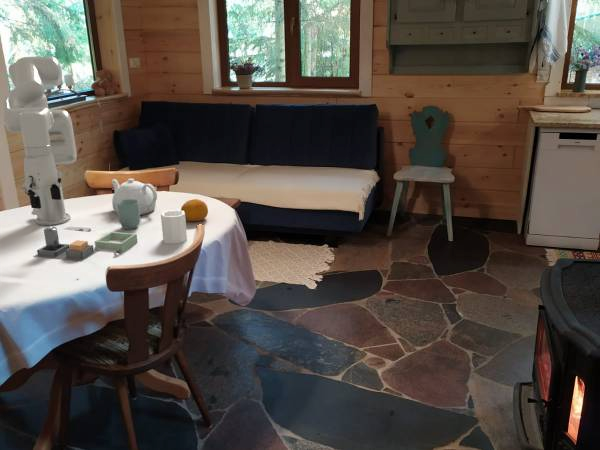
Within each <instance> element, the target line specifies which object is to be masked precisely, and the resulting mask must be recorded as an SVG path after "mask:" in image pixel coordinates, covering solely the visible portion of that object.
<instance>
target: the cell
mask: <svg viewBox="0 0 600 450" xmlns="http://www.w3.org/2000/svg"><path fill="white" fill-rule="evenodd" d="M43 234H44V240H45V246H46V247H47V250H49V251H56V250H58V249H60V245H59V244H60V240H59V234H58V228H57V227H55V226H48V227H45V228H44V229H43Z"/></svg>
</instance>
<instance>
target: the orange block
mask: <svg viewBox="0 0 600 450" xmlns="http://www.w3.org/2000/svg"><path fill="white" fill-rule="evenodd" d="M68 245H69V247H70V250H75V251H82V250H84V249H86V248H87V247H88V245H89V241H87V240H80V239H78V240H75V241H73V242H72V243H70V244H68Z"/></svg>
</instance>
